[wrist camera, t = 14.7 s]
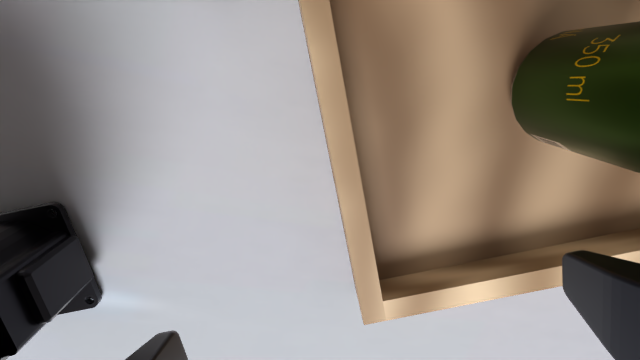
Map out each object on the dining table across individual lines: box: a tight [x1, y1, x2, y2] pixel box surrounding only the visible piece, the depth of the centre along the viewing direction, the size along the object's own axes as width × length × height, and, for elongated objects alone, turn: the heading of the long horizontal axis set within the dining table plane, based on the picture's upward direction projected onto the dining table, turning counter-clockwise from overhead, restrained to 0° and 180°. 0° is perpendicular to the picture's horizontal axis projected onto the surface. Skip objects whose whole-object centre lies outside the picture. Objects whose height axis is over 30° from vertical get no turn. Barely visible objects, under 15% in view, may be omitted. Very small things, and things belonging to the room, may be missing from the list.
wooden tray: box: [298, 0, 640, 325], centre depth 19 cm, size 18×18×3 cm
